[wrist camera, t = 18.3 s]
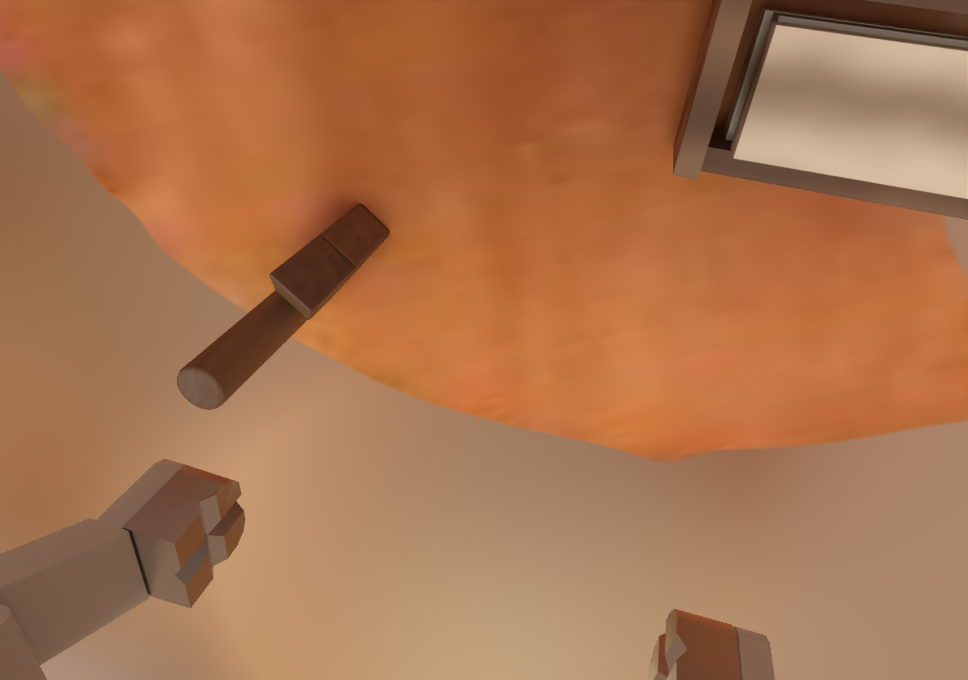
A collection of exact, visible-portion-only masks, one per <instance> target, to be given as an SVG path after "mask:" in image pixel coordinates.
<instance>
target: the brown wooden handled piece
mask: <svg viewBox="0 0 968 680" xmlns="http://www.w3.org/2000/svg"><path fill="white" fill-rule="evenodd" d="M388 235H389V231H388V230H387V229H386V228H385V227H384V226H383V225H382V224H381V223H380V222H379V221H378V220H377V219H376V218H374V217H373V216H372V215H371V214H370V213H369V212H368V211H367V210H366V209H365V208H364V207H363V206H362V205H357V206H355V207H354V208H353V209H351V210H350V211H349V212H348V213H346V214H345V215H344V216H343V217H341V218H340V219H339V220H337V221H336V222H335V223H334V224H332V225H331V226H330V227H329V228H327V229H326V230H325V231H324V232H322V233H321V234H320V235H319V236H317V237H316V238H315V239H313V240H312V241H311V242H310V243H308V244H307V245H306V246H305V247H303V248H302V249H301V250H300V251H298V252H297V253H296V254H294V255H293V256H292V257H291V258H289V259H288V260H287V261H286V262H284V263H283V264H282V265H281V266H279V267H278V268H277V269H275V270H274V271H273V272H272V273H270V278H271V280H272V283H273V285H274V288H275V291H274V292H273V293H272V294H270V295H269V296H268V297H267V298H266V299H264V300H263V301H262V302H261V303H260V304H258V305H257V306H256V307H255V308H254V309H253V310H251V311H250V312H249V313H248V314H247V315H245V316H244V317H243V318H242V319H241V320H239V321H238V322H237V323H236V324H235V325H233V327H231V328H230V329H229V330H228V331H226V332H225V333H224V334H223V335H222V336H220V337H219V338H218V339H217V340H216V341H214V342H213V343H212V344H211V345H210V346H208V347H207V348H206V349H205V350H204V351H203V352H201V353H200V354H199V355H198V356H197V357H196V358H194V359H193V360H192V361H191V362H190V363H188V364H187V365H186V366H185V367H183V368H182V369H181V370H180V372H179V374H178V377H177V385H178V388H179V390H180V392H181V393H182V395H183V396H184V397H185V398H186V399H187V400H188V401H189V402H190V403H192V404H193V405H195V406H197V407H199V408H202V409H207V410H210V409H215V408H218V407H219V406H221V405H222V404H223V403H224V402H225V401H226V400H227V399H228V398H229V397H230V396H231V395H232V394H233V393H234V392H235V391H236V390H237V389H238V388H239V387H240V386H241V385H242V384H243V383H244V382H245V381H246V380H247V379H249V377H251V376H252V374H253V373H254V372H256V370H258V369H259V367H261V366H262V365H263V364H264V362H266V361H267V360H268V359H269V358H270V357H271V356H272V355H273V354H274V353H275V352H276V351H277V350H278V349H279V348H280V347H281V346H282V345H283V344H284V343H285V342H286V341H287V340H288V339H289V338H290V337H291V336H292V335H293V334H294V333H295V332H296V331H297V330H298V329H299V328H300V327H301V326H302V325H303V324H304V323H305V322H306V321H307V320H309V319H311V318H312V317H313V316H314V315H315V314H316V313H317V312H318V311H319V310H320V309H321V308H322V307H323V306H324V305H325V304H326V303H327V302H328V301H329V300H330V299H331V298H332V297H333V295H334V294H335V293H336V292H337V291H338V290H339V289H340V288H341V287H342V286H343V285H344V283H345V282H346V281H347V280H348V279H349V278H350V277H351V276H352V275H353V274H354V273H355V272H356V270H357V269H358V268H359V267H360V266H361V265H362V264H363V263H364V262H365V260H366V259H367V258H368V257H369V256H370V255H371V254H372V253H373V252H374V251H375V250H376V249H377V248H378V247H379V245H380V244H381V243H382V242H383V241H384V240H385V239H386V238H387V237H388Z"/></svg>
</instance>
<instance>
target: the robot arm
mask: <svg viewBox="0 0 968 680" xmlns="http://www.w3.org/2000/svg"><path fill="white" fill-rule="evenodd" d="M240 495H241V490H240V485H239V482H237V481H234V480H231V479H228V478H225V477H222V476H218V475H215V474H212V473H209V472H206V471H203V470H200V469H197V468H194V467H190V466H188V465H184V464H181V463H178V462H174V461H171V460H168V459H163V460H161V461H159V462H157V463H155V464H154V465H153V466H152V467H151V468H150V469H149V470H148V471H146V472H145V473H144V474H143V475H142V476H141V477H140V478H139V479H138V480H137V481H136V482H135V483H134V484H133V485H132V486H131V487H130V488H129V489H128V490H127V491H126V492H125V493H124V494H123V495H122V496H121V497H119V499H117V500H116V501H115V502H114V503H113V504H112V505H111V506H110V507H109V508H108V509H107V510H106V511H105V512H104V513H103V514H102V515H101V516H100V517H99V518H98V519H97V520H93V519H90V518H88V519H86V520H84V521H81V522H79V523H76V524H74V525H71V526H69V527H66V528H64V529H61V530H59V531H56V532H54V533H51V534H49V535H47V536H44V537H42V538H39V539H37V540H35V541H32V542H29V543H27V544H24V545H22V546H19V547H17V548H14V549H12V550H10V551H7V552H5V553H2V554H0V680H47V679H46V677H45V675H44V673H43V671H42V669H41V667H40V665H41V664H43V663H44V662H46V661H48V660H49V659H51V658H53V657H54V656H56V655H58V654H59V653H61V652H62V651H64V650H66V649H67V648H69V647H71V646H72V645H74V644H76V643H77V642H79V641H80V640H82V639H84V638H85V637H87V636H89V635H90V634H92V633H94V632H95V631H97V630H98V629H100V628H102V627H103V626H105V625H107V624H108V623H110V622H112V621H113V620H115V619H116V618H118V617H120V616H121V615H123V614H124V613H126V612H128V611H129V610H131V609H133V608H134V607H136V606H138V605H139V604H141V603H142V602H144V601H146V600H147V599H149V596H152V597H155V598H158V599H162V600H165V601H168V602H171V603H175V604H178V605H181V606H185V607H188V608H191V607H192V606H193V605H194V603H195V602H196V600H197V599H198V598H199V597H200V595H201V594H202V593H203V591H204V590H205V589H206V587H207V586H208V585H209V583H210V582H211V581H212V579H213V566H214V565H216V564H218V563H220V562H222V561H224V560H226V559H228V558H229V556H230V555H231V554H232V552H233V551H234V549H235V548H236V546H237V545H238V543H239V540H240V538H241V536H242V533H243V531H244V524H245V516H244V510H243V509H242V508H241V507H240V505H239V504H238V503H237V501H236V500H237V499H238V498H239V497H240ZM649 680H775V677H774V670H773V663H772V655H771V648H770V643H769V641H768V639H767V637H766V636H765V635H763V634H759V633H755V632H752V631H748V630H745V629H741V628H737V627H733V626H732V625H730V624H727V623H723V622H720V621H716V620H712V619H709V618H705V617H702V616H698V615H694V614H691V613H687V612H684V611H680V610H677V609H673V610H672V611H671V612H670V614H669V616H668V618H667V620H666V633H665V634H663V635H660V636H659V637H658V640H657V642H656V645H655V647H654V651H653V655H652V659H651V664H650V673H649Z"/></svg>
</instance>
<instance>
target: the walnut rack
mask: <svg viewBox="0 0 968 680" xmlns="http://www.w3.org/2000/svg"><path fill="white" fill-rule="evenodd" d="M752 1H753V0H713V4H712V7H711V11H710V15H709V18H708V22H707V26H706V29H705V33H704V37H703V40H702V44H701V48H700V51H699V55H698V59H697V62H696V66H695V70H694V73H693V77H692V80H691V84H690V88H689V91H688V95H687V99H686V102H685V106H684V110H683V113H682V117H681V121H680V124H679V128H678V132H677V135H676V139H675V143H674V151H673V175H676V176H681V177H687V178H692V179H697V180H698V178H699V175H700V172H701V171H705V172H710V173H715V174H721V175H726V176H732V177H737V178H743V179H748V180H754V181H759V182H765V183H770V184H776V185H781V186H786V187H792V188H797V189H803V190H808V191H814V192H819V193H825V194H830V195H836V196H841V197H846V198H852V199H857V200H863V201H868V202H874V203H879V204H885V205H890V206H896V207H901V208H907V209H912V210H917V211H923V212H928V213H934V214H939V215H945V216H950V217H956V218H961V219H967V220H968V199H965V198H959V197H953V196H948V195H942V194H936V193H930V192H924V191H919V190H913V189H907V188H901V187H896V186H890V185H884V184H878V183H873V182H867V181H861V180H855V179H849V178H844V177H838V176H832V175H826V174H821V173H815V172H809V171H803V170H797V169H792V168H786V167H780V166H774V165H769V164H763V163H757V162H751V161H746V160H740V159H734V158H733V155H732V151H731V148H730V147H731V144H732V141H731V140H725V136H724V132H723V131H718V130H713V129H714V126H715V122H716V119H717V116H718V112H719V109H720V106H721V103H722V99H723V96H724V93H725V89H726V86H727V83H728V80H729V76H730V73H731V70H732V66H733V63H734V60H735V57H736V53H737V50H738V47H739V43H740V40H741V37H742V34H743V30H744V27H745V24H746V20H747V17H748V14H749V11H750V7H751V4H752ZM865 1H872V2H880V3H887V4H894V5H902V6H909V7H916V8H924V9H931V10H939V11H946V12H953V13H961V14H968V0H865Z"/></svg>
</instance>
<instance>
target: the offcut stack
mask: <svg viewBox="0 0 968 680" xmlns="http://www.w3.org/2000/svg"><path fill="white" fill-rule="evenodd" d="M723 132H724V136H725V140H731V141H732V144H731V147H730V148H731V151H732V155H733V158H734V159H740V160H746V161H751V162H757V163H763V164H769V165H774V166H780V167H786V168H792V169H797V170H803V171H809V172H815V173H821V174H826V175H832V176H838V177H844V178H849V179H855V180H861V181H867V182H873V183H878V184H884V185H890V186H896V187H901V188H907V189H913V190H919V191H924V192H930V193H936V194H942V195H948V196H953V197H959V198H965V199H968V35H964V34H956V33H949V32H941V31H934V30H927V29H919V28H912V27H904V26H897V25H890V24H882V23H875V22H867V21H860V20H852V19H845V18H838V17H830V16H823V15H815V14H808V13H800V12H793V11H786V10H778V9H771V8H763V7H761V10H760V14H759V17H758V20H757V23H756V27H755V30H754V33H753V36H752V40H751V43H750V46H749V49H748V53H747V56H746V59H745V62H744V66H743V69H742V72H741V75H740V79H739V82H738V85H737V88H736V92H735V95H734V98H733V101H732V105H731V108H730V111H729V114H728V118H727V121H726V124H725V127H724V131H723Z"/></svg>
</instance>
